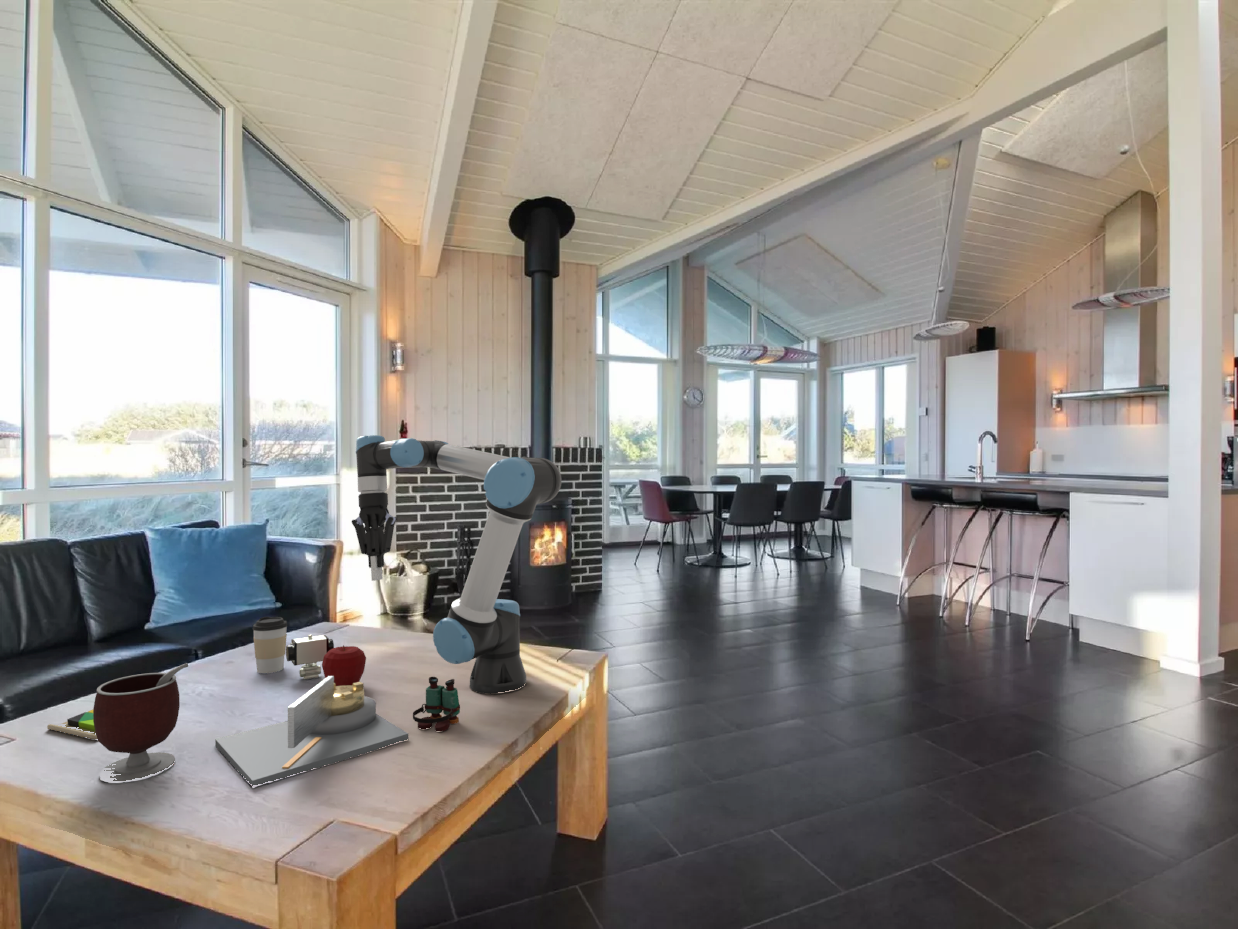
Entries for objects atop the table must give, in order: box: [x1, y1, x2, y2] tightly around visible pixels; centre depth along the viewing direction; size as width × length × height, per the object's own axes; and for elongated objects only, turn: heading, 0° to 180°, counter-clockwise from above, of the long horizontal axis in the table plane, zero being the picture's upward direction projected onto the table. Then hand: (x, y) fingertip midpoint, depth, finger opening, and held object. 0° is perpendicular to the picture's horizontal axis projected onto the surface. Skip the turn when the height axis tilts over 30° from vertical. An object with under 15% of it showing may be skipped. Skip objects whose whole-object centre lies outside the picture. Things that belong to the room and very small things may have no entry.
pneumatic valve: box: [285, 634, 335, 681], centre depth 190 cm, size 6×12×12 cm, turn 125°
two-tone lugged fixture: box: [287, 676, 365, 748], centre depth 146 cm, size 28×11×8 cm, turn 1°
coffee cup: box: [252, 616, 288, 674], centre depth 197 cm, size 9×9×15 cm
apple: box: [321, 644, 367, 686], centre depth 181 cm, size 11×11×12 cm
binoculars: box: [412, 676, 461, 732], centre depth 155 cm, size 9×11×10 cm
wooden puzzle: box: [46, 709, 97, 740], centre depth 159 cm, size 18×19×4 cm
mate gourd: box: [92, 662, 189, 781], centre depth 134 cm, size 16×14×20 cm
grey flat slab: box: [214, 695, 409, 786], centre depth 146 cm, size 31×26×4 cm
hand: (377, 579), depth 183 cm, fingers closed
